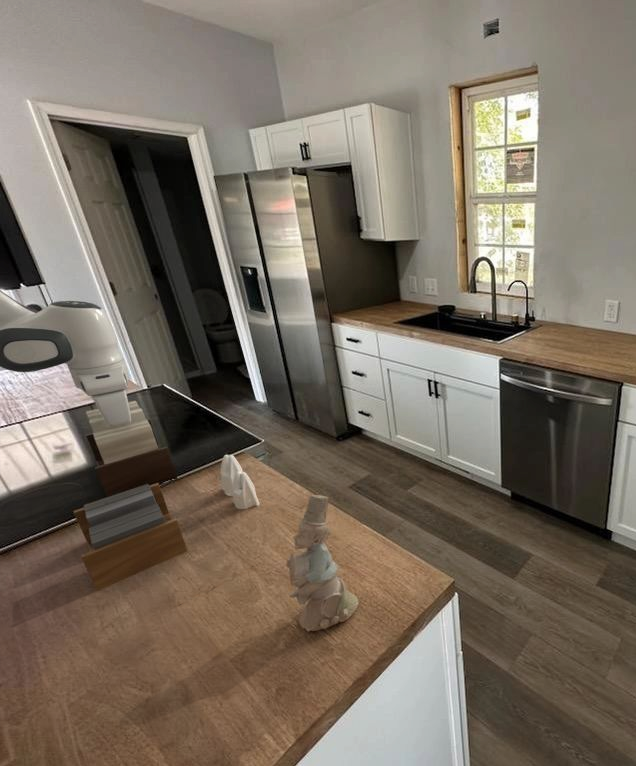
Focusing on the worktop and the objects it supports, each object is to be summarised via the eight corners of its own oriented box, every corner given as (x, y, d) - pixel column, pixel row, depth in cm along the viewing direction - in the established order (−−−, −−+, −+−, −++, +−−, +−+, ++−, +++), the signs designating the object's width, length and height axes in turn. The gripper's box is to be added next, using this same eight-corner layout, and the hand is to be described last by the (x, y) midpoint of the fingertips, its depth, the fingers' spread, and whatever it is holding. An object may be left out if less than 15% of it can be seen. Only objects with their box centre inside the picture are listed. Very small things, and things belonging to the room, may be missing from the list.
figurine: (345, 580, 71) (329, 483, 64) (365, 612, 65) (350, 510, 58) (289, 609, 66) (264, 506, 58) (306, 647, 60) (281, 539, 52)
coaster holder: (189, 557, 75) (175, 515, 72) (100, 597, 67) (79, 552, 63) (170, 516, 85) (156, 478, 82) (90, 547, 77) (71, 506, 73)
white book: (158, 458, 101) (142, 410, 97) (109, 473, 95) (89, 423, 90) (157, 455, 103) (141, 408, 98) (108, 469, 96) (88, 420, 92)
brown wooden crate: (177, 478, 97) (159, 424, 92) (109, 502, 89) (85, 443, 84) (159, 447, 110) (142, 397, 105) (97, 464, 102) (76, 412, 97)
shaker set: (222, 494, 92) (210, 452, 88) (243, 486, 95) (232, 444, 91) (241, 519, 85) (228, 473, 81) (263, 509, 88) (252, 465, 84)
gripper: (77, 367, 95) (97, 420, 100) (85, 391, 82) (108, 451, 87) (113, 361, 99) (131, 412, 104) (127, 383, 86) (147, 440, 91)
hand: (121, 430), depth 95 cm, fingers closed on white book, 2 cm apart
